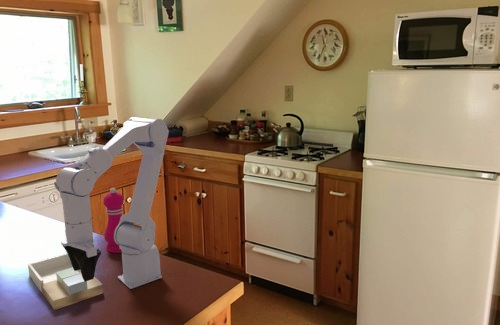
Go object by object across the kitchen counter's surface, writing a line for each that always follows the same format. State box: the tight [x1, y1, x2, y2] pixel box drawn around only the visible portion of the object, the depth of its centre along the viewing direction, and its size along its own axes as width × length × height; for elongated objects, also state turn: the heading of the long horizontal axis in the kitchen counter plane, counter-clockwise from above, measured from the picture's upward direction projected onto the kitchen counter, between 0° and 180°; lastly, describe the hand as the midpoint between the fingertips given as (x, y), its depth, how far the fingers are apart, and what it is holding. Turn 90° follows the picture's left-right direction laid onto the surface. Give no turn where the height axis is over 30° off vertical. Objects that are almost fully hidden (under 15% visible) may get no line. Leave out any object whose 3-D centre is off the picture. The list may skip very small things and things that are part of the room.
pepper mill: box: [103, 187, 125, 254], centre depth 136 cm, size 7×7×20 cm
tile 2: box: [62, 274, 88, 295], centre depth 109 cm, size 4×4×2 cm
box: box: [27, 252, 81, 293], centre depth 120 cm, size 12×12×4 cm
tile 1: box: [56, 267, 80, 287], centre depth 113 cm, size 4×4×2 cm
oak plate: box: [41, 272, 104, 311], centre depth 112 cm, size 12×10×2 cm
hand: (83, 274), depth 103 cm, fingers open, 6 cm apart
